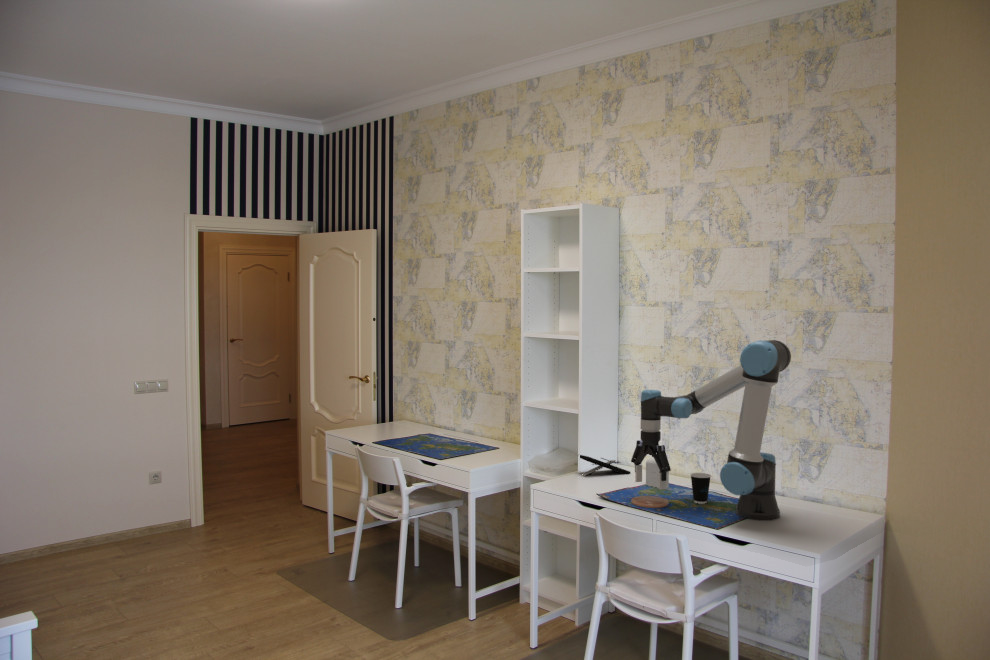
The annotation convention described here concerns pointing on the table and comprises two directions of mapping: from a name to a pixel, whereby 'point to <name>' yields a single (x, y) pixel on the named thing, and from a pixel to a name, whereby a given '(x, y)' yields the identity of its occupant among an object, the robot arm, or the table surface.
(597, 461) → the black folding stand
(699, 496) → the dixie cup
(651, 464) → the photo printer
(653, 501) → the dish
